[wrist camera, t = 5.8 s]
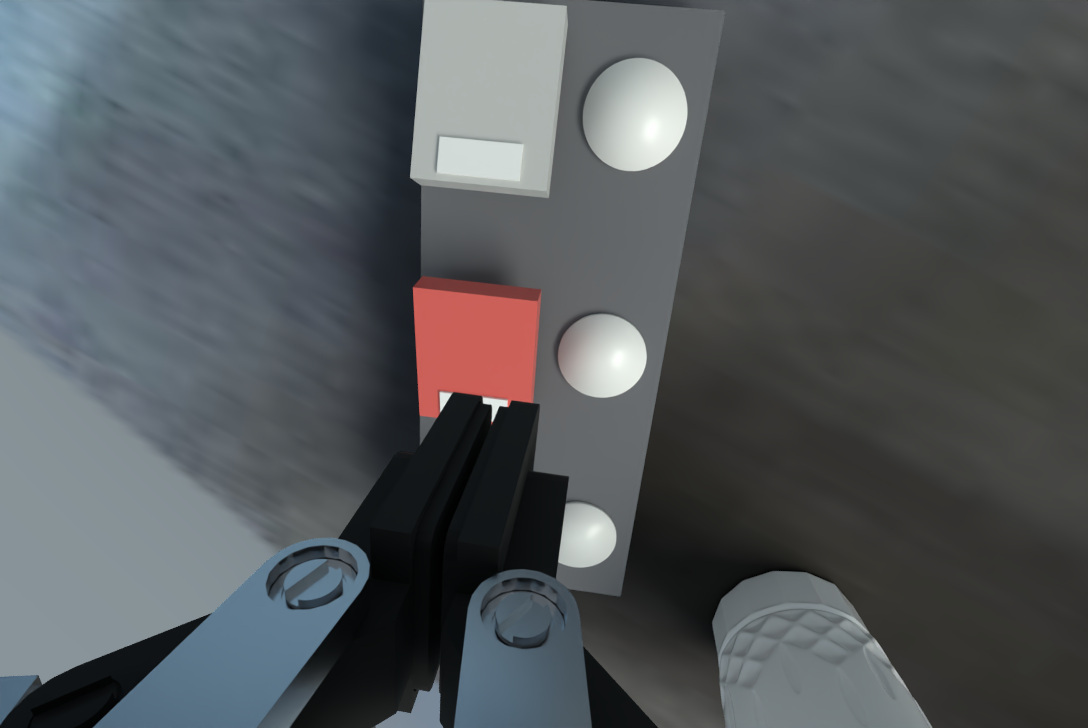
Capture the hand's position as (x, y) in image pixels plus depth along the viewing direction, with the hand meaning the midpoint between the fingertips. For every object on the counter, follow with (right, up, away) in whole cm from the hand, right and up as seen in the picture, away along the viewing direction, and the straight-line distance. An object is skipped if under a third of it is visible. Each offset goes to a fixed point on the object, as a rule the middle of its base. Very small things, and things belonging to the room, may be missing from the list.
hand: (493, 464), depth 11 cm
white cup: (+13, -11, +17) cm, 24 cm away
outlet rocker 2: (-1, +2, +8) cm, 9 cm away
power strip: (+1, +5, +12) cm, 13 cm away
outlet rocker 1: (-1, +10, +5) cm, 11 cm away
